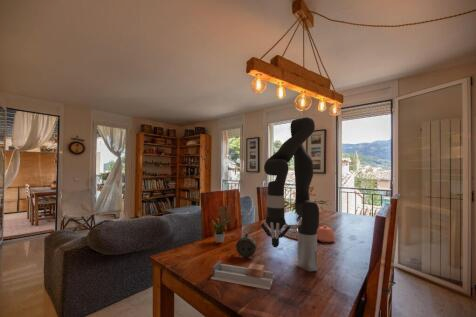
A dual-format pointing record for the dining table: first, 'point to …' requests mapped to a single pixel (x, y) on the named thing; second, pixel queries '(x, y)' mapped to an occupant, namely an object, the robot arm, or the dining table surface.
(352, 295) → the dining table surface
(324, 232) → the sugar bowl
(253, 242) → the alarm clock
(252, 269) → the block
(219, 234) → the house plant
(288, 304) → the dining table surface
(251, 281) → the chute
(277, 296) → the dining table surface
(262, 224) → the robot arm
